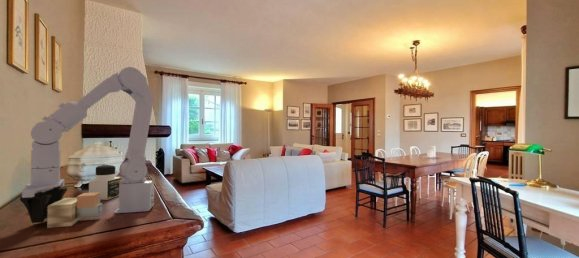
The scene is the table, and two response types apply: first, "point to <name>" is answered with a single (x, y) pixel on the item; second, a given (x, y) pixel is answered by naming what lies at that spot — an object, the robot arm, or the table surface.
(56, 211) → the bearing block
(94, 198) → the block
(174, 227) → the table surface
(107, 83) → the robot arm
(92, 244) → the table surface
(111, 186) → the medicine bottle
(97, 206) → the bar
